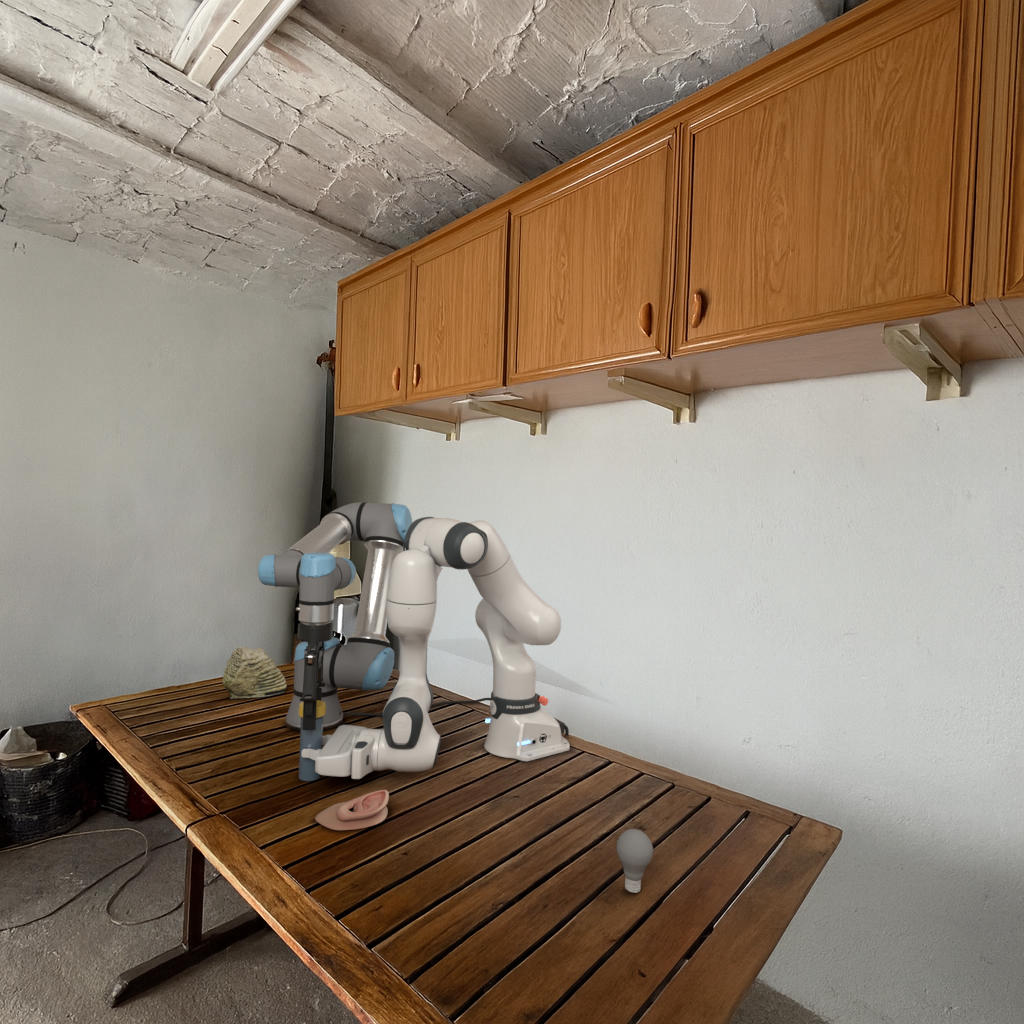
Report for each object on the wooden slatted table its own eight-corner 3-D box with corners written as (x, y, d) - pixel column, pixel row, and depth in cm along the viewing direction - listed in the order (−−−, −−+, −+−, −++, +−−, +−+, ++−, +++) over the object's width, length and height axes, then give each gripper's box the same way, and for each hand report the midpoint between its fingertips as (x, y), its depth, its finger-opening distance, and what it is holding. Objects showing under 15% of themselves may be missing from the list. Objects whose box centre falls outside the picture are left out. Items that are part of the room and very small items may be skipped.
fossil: (218, 695, 195) (220, 647, 195) (278, 685, 208) (279, 640, 207) (228, 703, 189) (230, 653, 188) (289, 692, 201) (290, 645, 201)
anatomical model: (307, 805, 121) (336, 780, 133) (306, 826, 121) (335, 798, 133) (372, 815, 119) (395, 788, 130) (371, 836, 119) (394, 807, 130)
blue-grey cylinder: (294, 779, 141) (296, 709, 141) (305, 770, 146) (308, 702, 146) (314, 782, 140) (316, 712, 140) (325, 773, 145) (327, 705, 145)
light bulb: (610, 879, 108) (613, 822, 108) (644, 879, 109) (647, 822, 109) (619, 902, 102) (622, 840, 102) (655, 901, 103) (658, 840, 103)
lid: (329, 710, 146) (329, 700, 146) (320, 719, 140) (320, 709, 140) (304, 709, 146) (305, 699, 146) (294, 717, 140) (294, 707, 140)
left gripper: (305, 613, 152) (302, 707, 152) (290, 631, 132) (285, 740, 132) (337, 613, 153) (334, 707, 154) (327, 631, 133) (323, 739, 133)
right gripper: (378, 719, 153) (321, 717, 153) (358, 753, 133) (292, 750, 133) (377, 745, 154) (320, 743, 153) (357, 783, 133) (291, 780, 133)
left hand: (311, 722), depth 143 cm, fingers open, 8 cm apart
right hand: (306, 746), depth 143 cm, fingers closed on blue-grey cylinder, 5 cm apart
